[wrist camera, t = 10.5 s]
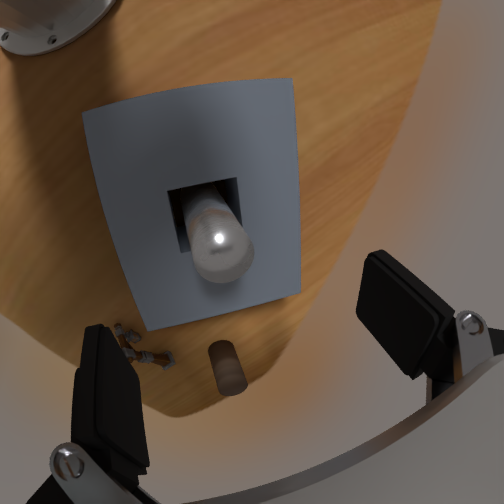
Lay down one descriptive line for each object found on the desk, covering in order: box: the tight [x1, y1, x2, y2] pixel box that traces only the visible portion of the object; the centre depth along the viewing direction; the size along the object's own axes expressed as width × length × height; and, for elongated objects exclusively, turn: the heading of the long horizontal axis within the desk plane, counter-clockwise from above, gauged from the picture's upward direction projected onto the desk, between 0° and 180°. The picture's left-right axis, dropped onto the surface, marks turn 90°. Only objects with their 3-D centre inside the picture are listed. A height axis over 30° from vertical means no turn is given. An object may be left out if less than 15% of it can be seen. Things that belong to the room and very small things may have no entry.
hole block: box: [82, 78, 301, 331], centre depth 22 cm, size 18×14×5 cm
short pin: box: [208, 340, 248, 396], centre depth 31 cm, size 3×3×6 cm
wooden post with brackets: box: [114, 323, 176, 370], centre depth 28 cm, size 2×8×4 cm, turn 34°
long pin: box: [180, 182, 254, 283], centre depth 19 cm, size 3×3×11 cm
